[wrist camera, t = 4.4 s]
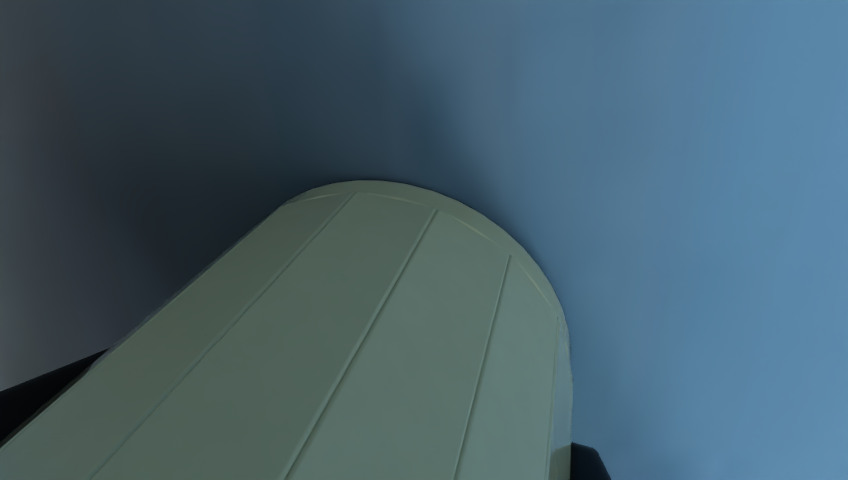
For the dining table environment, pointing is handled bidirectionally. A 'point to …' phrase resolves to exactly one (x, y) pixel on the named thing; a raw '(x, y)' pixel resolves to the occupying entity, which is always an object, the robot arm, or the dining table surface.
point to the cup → (329, 358)
